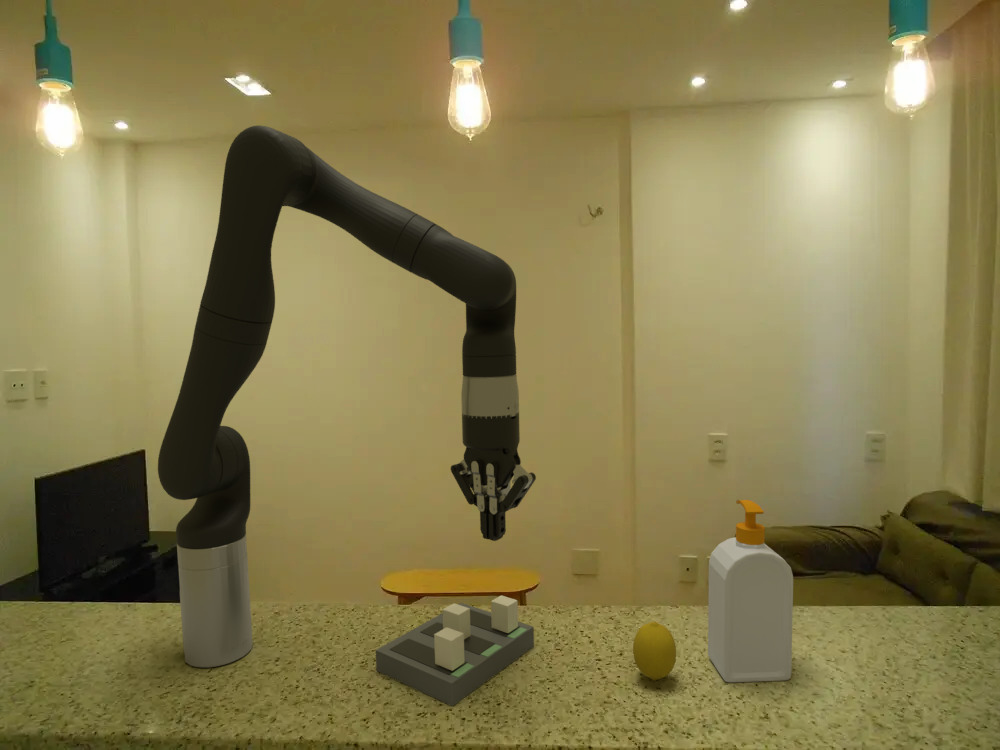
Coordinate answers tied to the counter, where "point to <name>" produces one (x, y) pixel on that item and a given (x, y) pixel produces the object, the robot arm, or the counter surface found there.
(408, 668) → the breaker panel
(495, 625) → the block
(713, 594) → the soap bottle
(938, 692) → the counter surface
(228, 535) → the robot arm
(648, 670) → the lemon
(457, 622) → the block
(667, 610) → the counter surface
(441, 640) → the block
